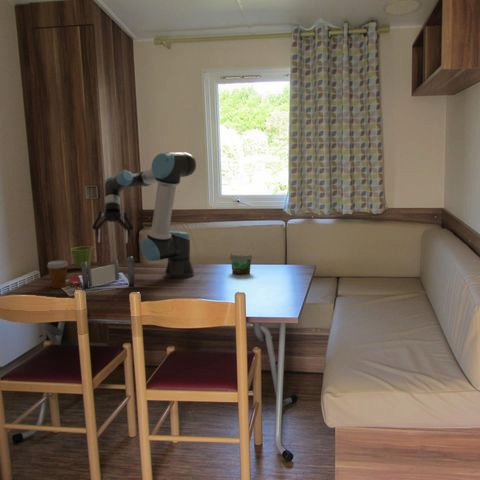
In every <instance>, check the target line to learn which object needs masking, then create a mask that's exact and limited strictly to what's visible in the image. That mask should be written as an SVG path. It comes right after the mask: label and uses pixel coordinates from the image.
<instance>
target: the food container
mask: <svg viewBox="0 0 480 480" xmlns="http://www.w3.org/2000/svg"><path fill="white" fill-rule="evenodd" d="M229 259H230V263H231V272H232V274H233V275H235V276H236V275H237V276H245V275H250V273H251V262H252V259H253V256H252V255H251V254H249V255H242V254H239V255H232V253H230V254H229Z"/></svg>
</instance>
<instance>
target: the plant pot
mask: <svg viewBox="0 0 480 480" xmlns="http://www.w3.org/2000/svg"><path fill="white" fill-rule="evenodd" d="M92 249H93V246H90V245H89V246H87V245H86V246H85V245H84V246H77V247H72V248H70V249H69V250H70V251H71V253H72V256H73V259H74V263H75V267H76V269H78V270H79V269H80V270H82V264H81V262H87V268H91V267H90V266H91V256H92V251H93V250H92Z"/></svg>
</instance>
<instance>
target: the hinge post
mask: <svg viewBox="0 0 480 480" xmlns="http://www.w3.org/2000/svg"><path fill="white" fill-rule="evenodd" d="M81 264H82V269H81V276H82V287H81V289H82V290H81V291H87V290H86V289H89V290H91V287H89V284H88V269H87V262H81Z"/></svg>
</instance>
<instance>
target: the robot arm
mask: <svg viewBox="0 0 480 480" xmlns="http://www.w3.org/2000/svg"><path fill="white" fill-rule="evenodd" d="M196 168H197V161H196V158H195V157H194V156H193V155H192V154H190V153H188V152H185V151H181V152H179V151H177V152H172V151H170V152H168V151H166V152H161V153H158V154H157V155H155V156H154V158H153V160H152V162H151V168H149V169H146V170H143V171H140V172H131V171H129V170H127V169H123V170H121V171H120V172H118V173H117V174H116V175H115V176H110V177H107V178H106V179H105V180H104V205H105V206H104V212H103V211H99V212H98V217H97V218H96V220H95V222H94V223H93V224H92V227H91V229H92V230H94V231H95V236H96V237H97V242H98V243H101V229H102V227H103V226H105V224H106V223H108V222H111V223H113V222H114V223H116V222H117V223H118V224H119V225H120V226H121V227H122V228H123V229H124V231H125V233H124V234H125V244H128V242H129V238H130V235H131V234H130V232H133V229H134V226H133V225H132V223H131V221H130V219H129V218H128V216H127V213H126V212H124V213H121V198H120V196H121V193H120V192H122V191H124V189H126V188H136V187H138V188H139V187H148V186H151V185H152V184H155V183H157V188H156V194H155V201H154V207H153V209H154V210H153V214H152V215H153V217H152V223H151V229H150V230H148V231H147V235H146V238H144V239H143V240H142V241H141V243H140V249H141V252H142V255H143V256H144V258H145V259H146V260H147V261H149V262H159V261H162V260H167V263H166V267H165V268H164V269H165V270H164V277H165V278H168V279H176V280H177V279H187V278H191V277H194V276H195V271H194V267H193V265H192V262H191V244H190V242H191V241H190V240H191V239H190V234H189V233H188V232H187V231H186V232H185V231H176V230H170V226H171V220H172V215H173V207H174V202H175V200H174V199H175V194H176V186H178V185H179V184H180V182H181V178H183V177H184V178H185V177H189V176H191V175H192V174H194V173H195V171H196ZM103 217H105V218H104V219H103V220H102V221H101V218H103ZM121 217H122V218H121ZM122 219H123V220H122ZM100 221H101V222H100ZM124 221H125V222H124ZM99 222H100V223H99ZM98 243H97V244H98Z"/></svg>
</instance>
